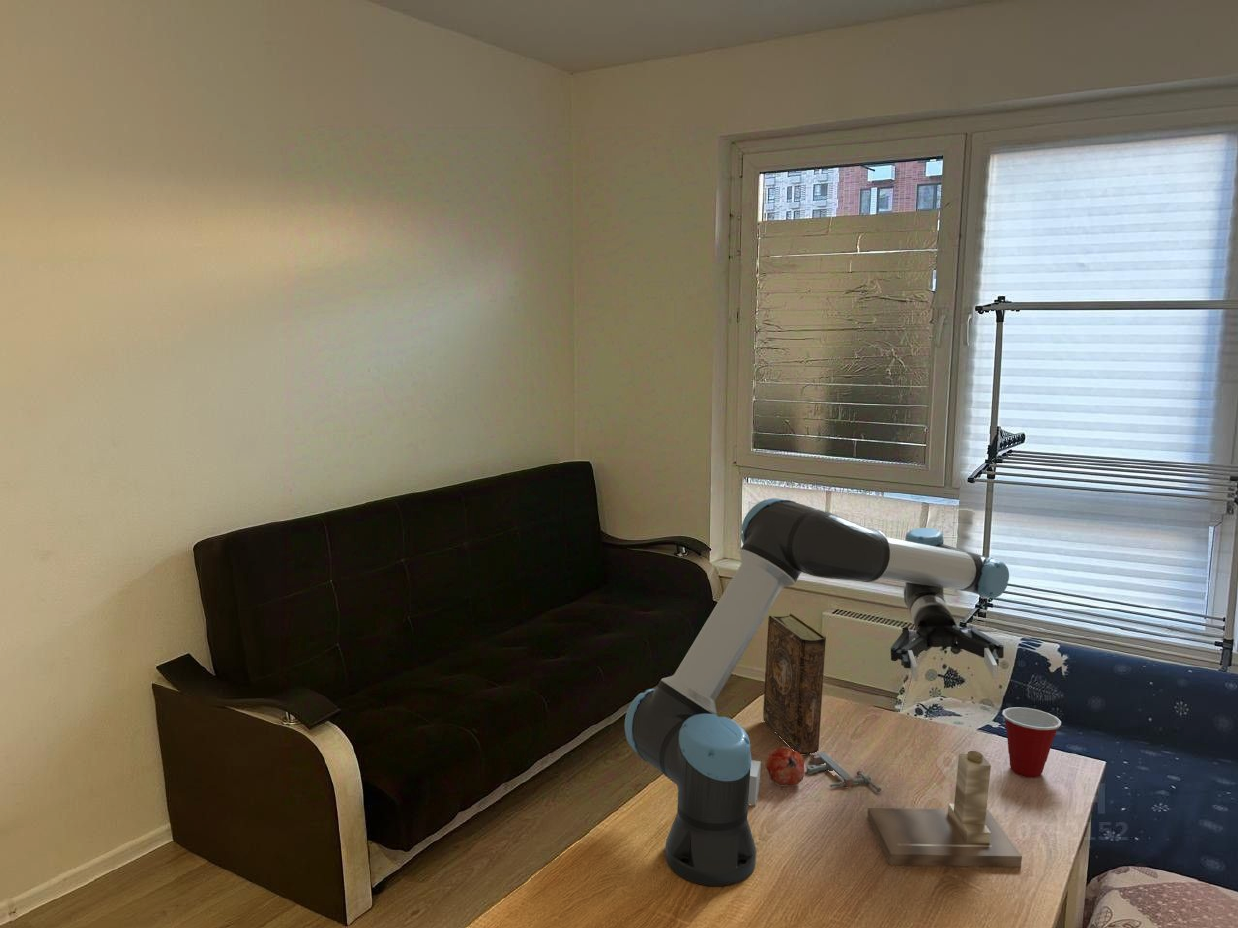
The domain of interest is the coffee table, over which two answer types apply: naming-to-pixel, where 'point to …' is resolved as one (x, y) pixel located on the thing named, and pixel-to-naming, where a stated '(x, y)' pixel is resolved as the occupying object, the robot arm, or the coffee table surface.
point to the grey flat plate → (937, 840)
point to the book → (794, 682)
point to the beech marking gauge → (971, 798)
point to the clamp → (831, 765)
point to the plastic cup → (1029, 739)
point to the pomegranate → (785, 766)
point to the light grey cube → (754, 781)
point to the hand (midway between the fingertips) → (955, 672)
